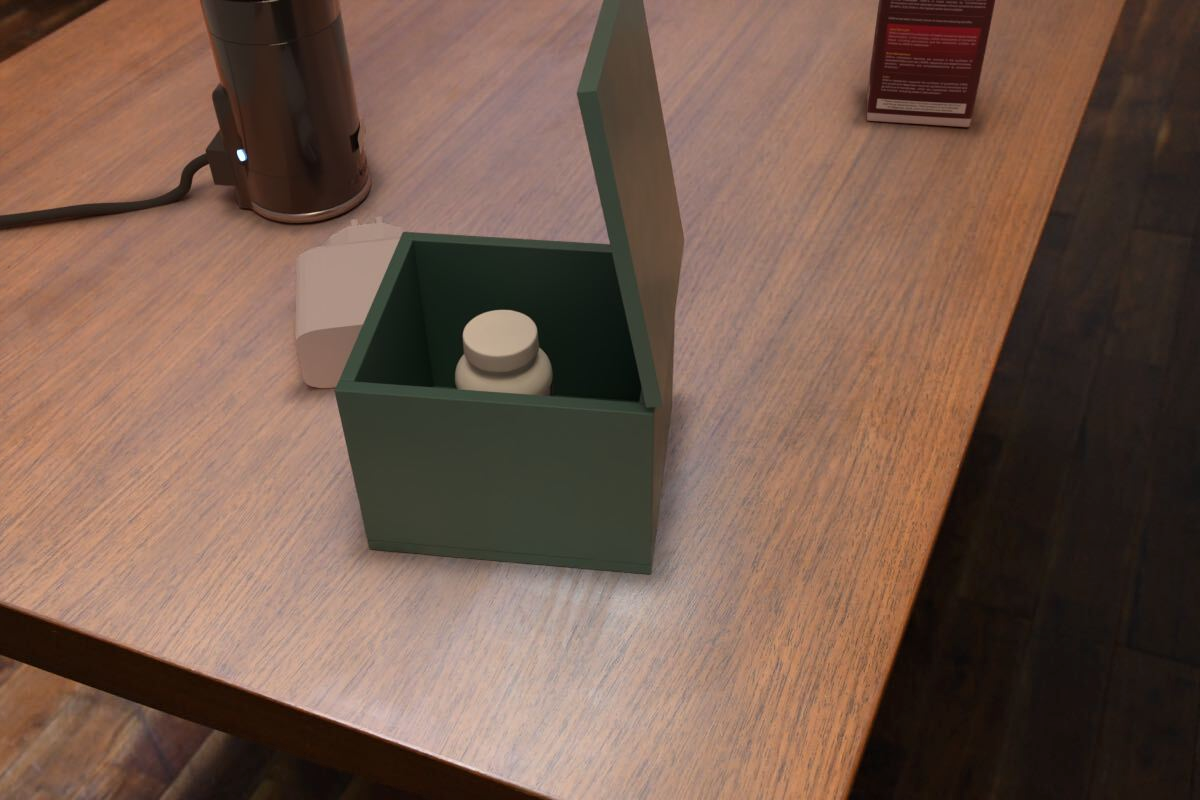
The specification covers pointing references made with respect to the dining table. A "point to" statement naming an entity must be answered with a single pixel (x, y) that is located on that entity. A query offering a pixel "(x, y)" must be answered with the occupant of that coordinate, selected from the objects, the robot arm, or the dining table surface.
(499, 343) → the pill bottle
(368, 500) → the chest
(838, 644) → the dining table surface
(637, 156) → the lid
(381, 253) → the charger
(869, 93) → the supplement box
